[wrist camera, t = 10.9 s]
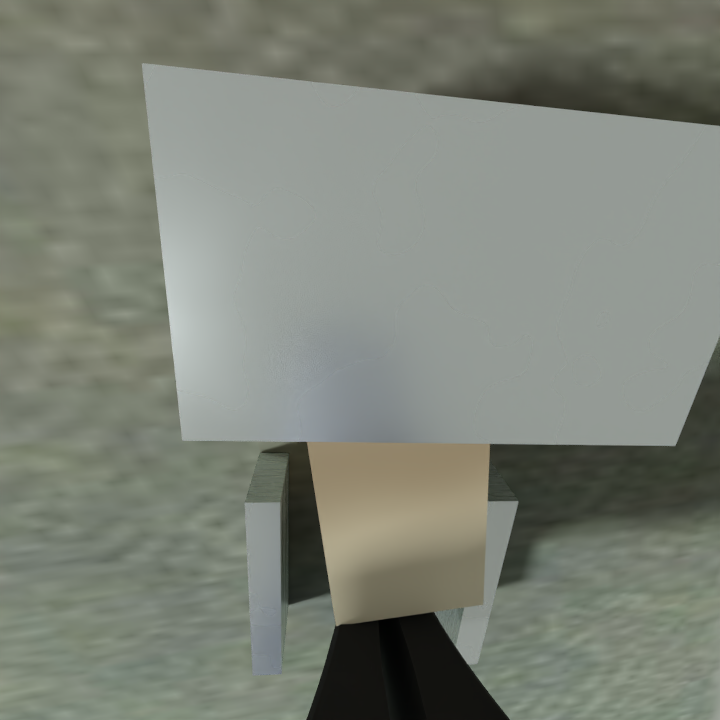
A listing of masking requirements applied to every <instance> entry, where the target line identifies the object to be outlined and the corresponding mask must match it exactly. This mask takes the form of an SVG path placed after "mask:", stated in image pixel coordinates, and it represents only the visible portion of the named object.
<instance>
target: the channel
mask: <svg viewBox="0 0 720 720" xmlns="http://www.w3.org/2000/svg"><path fill="white" fill-rule="evenodd" d="M518 502H519V501H518V499H517V498H516V497H515V495H514V494H513V492H512V491H511V490H510V488H509V487H508V485H507V484H506V482H505V481H504V480H503V478H502V477H501V475H500V474H499V472H498V471H497V470H496V468H495V467H494V465H493V464H492V462H491V461H490V460H489V479H488V504H487V528H486V552H485V576H484V601H483V605H478V606H471V607H464V608H457V609H451V610H444V611H437V616H438V619H439V621H440V623H441V625H442V626H443V628H444V630H445V631H446V633H447V634H448V636H449V637H450V639H451V640H452V642H453V643H454V645H455V646H456V648H457V649H458V651H459V652H460V654H461V655H462V657H463V658H464V660H465V661H466V663H467V664H478V660H479V656H480V652H481V648H482V644H483V640H484V636H485V632H486V628H487V624H488V620H489V616H490V612H491V608H492V605H493V601H494V597H495V593H496V589H497V585H498V581H499V577H500V573H501V569H502V565H503V561H504V557H505V553H506V549H507V546H508V542H509V538H510V534H511V530H512V526H513V522H514V518H515V514H516V510H517V506H518ZM245 519H246V540H247V562H248V583H249V605H250V627H251V648H252V670H253V675H271V674H282V664H283V654H284V645H285V635H286V625H287V615H288V547H289V453H260V454H259V457H258V460H257V464H256V467H255V470H254V474H253V477H252V480H251V484H250V487H249V490H248V494H247V497H246V500H245Z"/></svg>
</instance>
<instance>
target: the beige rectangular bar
mask: <svg viewBox="0 0 720 720" xmlns="http://www.w3.org/2000/svg"><path fill="white" fill-rule="evenodd" d="M307 446H308V452H309V458H310V465H311V471H312V477H313V484H314V490H315V496H316V503H317V509H318V515H319V522H320V528H321V534H322V541H323V547H324V553H325V560H326V566H327V572H328V579H329V585H330V591H331V598H332V604H333V610H334V617H335V623H336V626H339V625H340V624H354V623H361V622H368V621H375V620H382V619H389V618H396V617H402V616H409V615H416V614H423V613H430V612H437V611H444V610H451V609H457V608H464V607H471V606H478V605H483V601H484V576H485V552H486V528H487V504H488V479H489V455H490V444H457V443H368V442H307Z"/></svg>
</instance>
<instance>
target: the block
mask: <svg viewBox="0 0 720 720" xmlns="http://www.w3.org/2000/svg"><path fill="white" fill-rule="evenodd" d="M142 69H143V79H144V88H145V97H146V107H147V116H148V125H149V134H150V144H151V153H152V162H153V172H154V181H155V190H156V200H157V209H158V218H159V228H160V237H161V246H162V255H163V265H164V274H165V283H166V293H167V302H168V311H169V321H170V330H171V339H172V349H173V358H174V367H175V376H176V386H177V395H178V404H179V414H180V423H181V432H182V440H190V441H279V442H368V443H457V444H546V445H635V446H676V443H677V441H678V438H679V436H680V433H681V431H682V428H683V426H684V423H685V421H686V418H687V416H688V413H689V411H690V408H691V406H692V403H693V401H694V398H695V396H696V393H697V391H698V388H699V386H700V383H701V381H702V378H703V376H704V374H705V371H706V369H707V366H708V364H709V361H710V359H711V356H712V354H713V351H714V349H715V346H716V344H717V341H718V339H719V336H720V126H715V125H705V124H696V123H687V122H678V121H669V120H659V119H650V118H641V117H632V116H623V115H613V114H604V113H595V112H586V111H577V110H567V109H558V108H549V107H540V106H531V105H522V104H512V103H503V102H494V101H485V100H476V99H466V98H457V97H448V96H439V95H430V94H420V93H411V92H402V91H393V90H384V89H374V88H365V87H356V86H347V85H338V84H328V83H319V82H310V81H301V80H292V79H282V78H273V77H264V76H255V75H246V74H237V73H227V72H218V71H209V70H200V69H191V68H181V67H172V66H163V65H154V64H145V63H142Z"/></svg>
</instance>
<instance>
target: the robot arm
mask: <svg viewBox="0 0 720 720" xmlns="http://www.w3.org/2000/svg"><path fill="white" fill-rule="evenodd" d="M307 720H510V719H509V718H508V717H507V715H506V714H505V713H504V712H503V710H502V709H501V708H500V707H499V705H498V704H497V703H496V702H495V700H494V699H493V698H492V696H491V695H490V694H489V693H488V691H487V690H486V689H485V687H484V686H483V685H482V683H481V682H480V681H479V679H478V678H477V677H476V675H475V674H474V672H473V671H472V670H471V668H470V667H469V665H468V664H467V663H466V661H465V660H464V658H463V657H462V655H461V654H460V652H459V651H458V649H457V648H456V646H455V645H454V643H453V642H452V640H451V639H450V637H449V636H448V634H447V633H446V631H445V630H444V628H443V626H442V625H441V623H440V621H439V620H438V618H437V617H436V615H435V613H434V612H430V613H423V614H416V615H409V616H402V617H396V618H389V619H382V620H375V621H368V622H361V623H354V624H340V625H339V626H336V625H335V629H334V633H333V637H332V640H331V644H330V648H329V651H328V655H327V659H326V662H325V666H324V669H323V672H322V675H321V679H320V682H319V685H318V688H317V691H316V694H315V697H314V700H313V703H312V706H311V709H310V711H309V714H308V717H307Z"/></svg>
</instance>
